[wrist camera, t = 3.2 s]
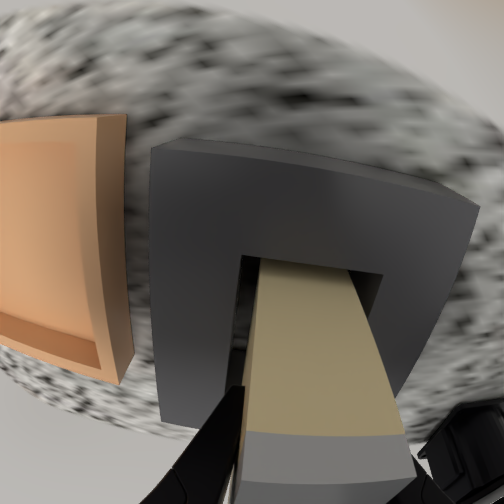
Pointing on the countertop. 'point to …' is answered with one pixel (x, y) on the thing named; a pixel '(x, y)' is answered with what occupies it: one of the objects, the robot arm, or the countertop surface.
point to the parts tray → (65, 243)
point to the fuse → (315, 397)
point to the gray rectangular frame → (288, 254)
